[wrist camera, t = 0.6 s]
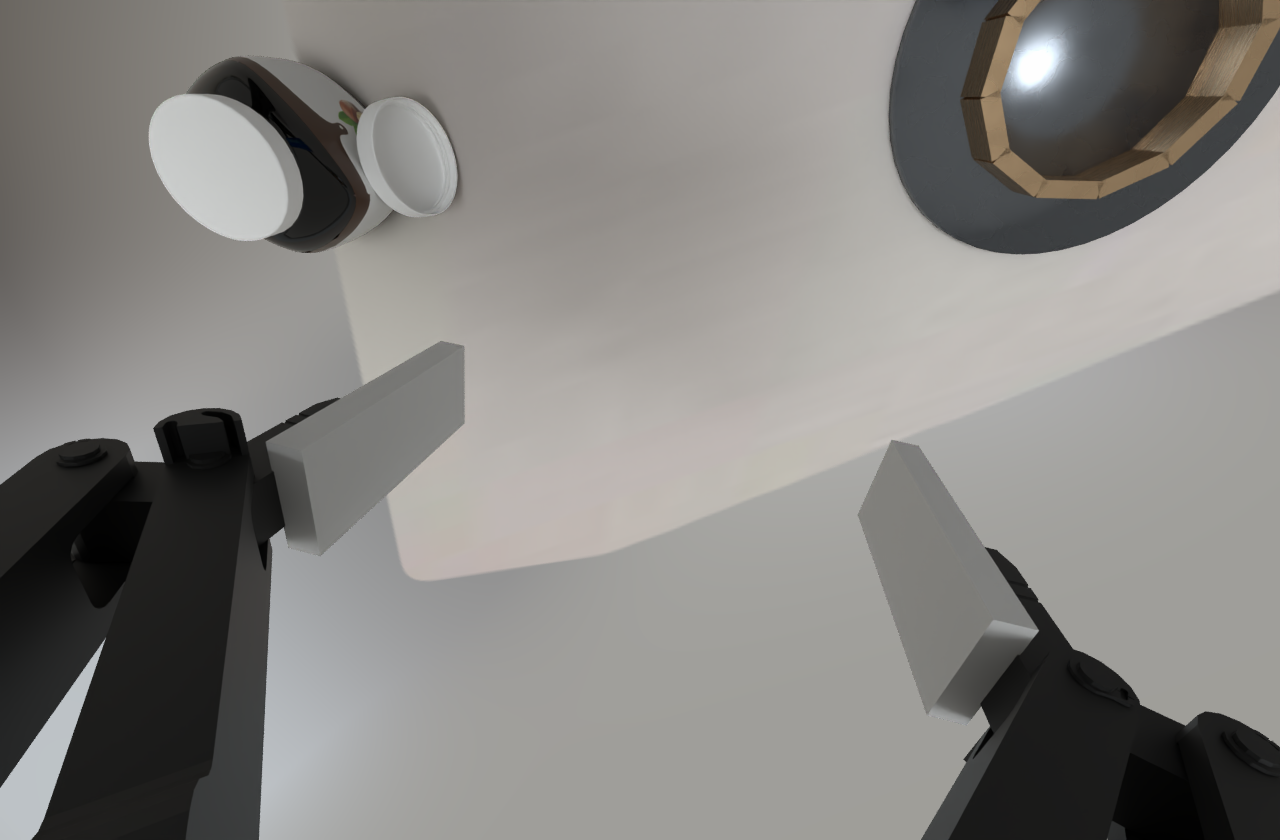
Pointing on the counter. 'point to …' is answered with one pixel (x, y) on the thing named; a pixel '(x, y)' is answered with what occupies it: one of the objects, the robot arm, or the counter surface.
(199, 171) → the spread jar
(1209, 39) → the collar plate
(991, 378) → the counter surface
